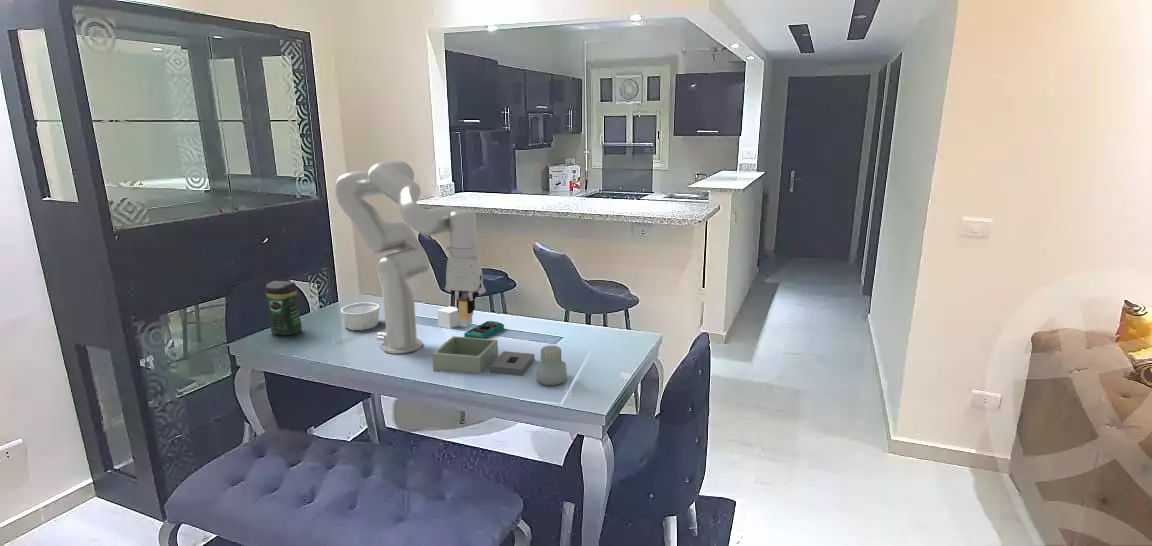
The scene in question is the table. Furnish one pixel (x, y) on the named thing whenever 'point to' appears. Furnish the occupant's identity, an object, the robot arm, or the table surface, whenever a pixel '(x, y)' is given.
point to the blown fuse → (464, 310)
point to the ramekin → (360, 315)
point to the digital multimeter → (485, 330)
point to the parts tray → (465, 355)
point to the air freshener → (551, 367)
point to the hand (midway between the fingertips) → (466, 311)
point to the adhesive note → (448, 317)
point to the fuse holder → (512, 363)
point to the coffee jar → (283, 307)
